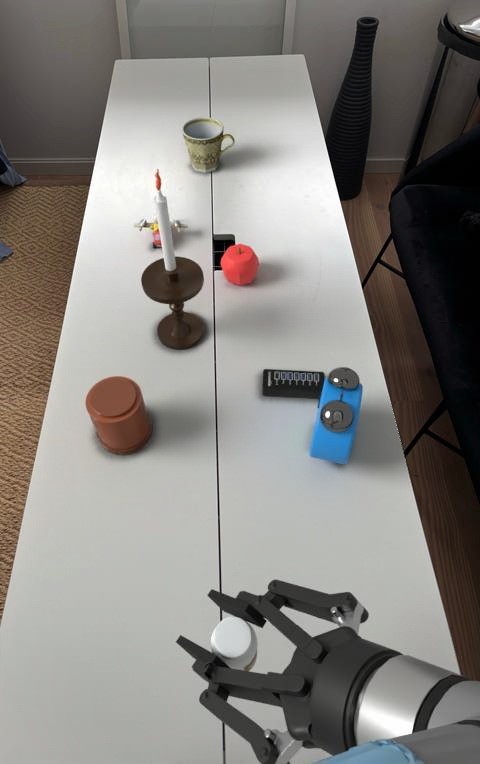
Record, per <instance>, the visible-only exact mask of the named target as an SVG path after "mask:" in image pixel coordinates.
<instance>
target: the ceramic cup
mask: <svg viewBox="0 0 480 764" xmlns="http://www.w3.org/2000/svg"><path fill="white" fill-rule="evenodd" d="M224 129H225V127H224V125H223V123H222V122H221V121H220V120H219V119H216V118H213V117H210V116H209V117H207V116H201V117H195V118H192V119H189V120H188V121H186V122H185V123H183V126H182V127H181V132H182V136H183V140H184V143H185V146H186V150H187V153H188V157H189V161H190V164H191V166H192V168H193V169H194V170H195V172H199V173H204V174H207V173H211V172H214V171H216V170H217V169H218V167H219V165H220V158H221V155H222V154H223V153H225V152H226V151H227V150H228V149H230V148H232V147H233V146H234V145H235V143H236V142H235V141H236V140H235V137H234V136H233V135H232V134H230V133H225V134H224ZM225 139H230V140H232V143H231V144H230V145H228V146H226V147H225V148H224V149H223V150H222V144H223V141H224V140H225Z"/></svg>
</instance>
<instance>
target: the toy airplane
mask: <svg viewBox="0 0 480 764" xmlns="http://www.w3.org/2000/svg"><path fill="white" fill-rule="evenodd" d="M170 227H171V229H177V232H178V233H181V231H182V229H187V228H188V224H186V223H181V221H180V220H179V219H175V218H173V219H172V221H170ZM133 228H139V229H138V231H139V232H142V231H143V228H146V229H147V228H149V229H150V230H153V241H152V249H156V247H158V248H162V244H161V238H160V232H159V226H158V220H157V214H154V216H153V222H147V218H143V219H141V220H140V221H139V222H135V223H134V224H133Z"/></svg>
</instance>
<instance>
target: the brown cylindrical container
mask: <svg viewBox="0 0 480 764" xmlns="http://www.w3.org/2000/svg"><path fill="white" fill-rule="evenodd" d="M85 409H86V411H87V413H88V416H89V418H90V420H91V422H92V424H93V427H94V430H95V434H96V438H97V440H98V442H99V444H100V446H101V448H102V449H103V450H105V451H106V452H108V453H109V454H112V455H116V456H128V455H129V456H130V455H132V454H135V453H138V452H139V451H140V450H142V449H143V448H145V446H147V445H148V443H149V442H150V440H151V438H152V436H153V433H154V432H153V430H154V427H153V421H152V418H151V416H150V414H149V412H148V410H147V407H146V403H145V399H144V397H143V392H142V389H141V387H140V386H139V385H138V383H137V382H136V381H134V380H133V379H132V378H129V377H127V376H120V375H115V376H108V377H105V378H102V379H101V380H99V381H97V382H96V383H95V384H94V385H93V386H92V387H91V388H90V389H89V390H88V392H87V394H86V396H85Z"/></svg>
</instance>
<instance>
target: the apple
mask: <svg viewBox="0 0 480 764" xmlns="http://www.w3.org/2000/svg"><path fill="white" fill-rule="evenodd" d="M259 266H260V260H259V257H258V255H257V254H256V252H255V250H254V249H253V248H252V247H251V246H250V245H246V244H242V243H238V244H234V245H230V246H229V247H228V248H227V249H226V251H225V252H224V253H223V255H222V257H221V259H220V267H221V269H222V273H223V274H224V277H225V279H226V280H227V283H230V284H233V285H236V286H243V285H246V284H250V283H252V282H253V280H255V277H256V275H257V273H258V269H259Z"/></svg>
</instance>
